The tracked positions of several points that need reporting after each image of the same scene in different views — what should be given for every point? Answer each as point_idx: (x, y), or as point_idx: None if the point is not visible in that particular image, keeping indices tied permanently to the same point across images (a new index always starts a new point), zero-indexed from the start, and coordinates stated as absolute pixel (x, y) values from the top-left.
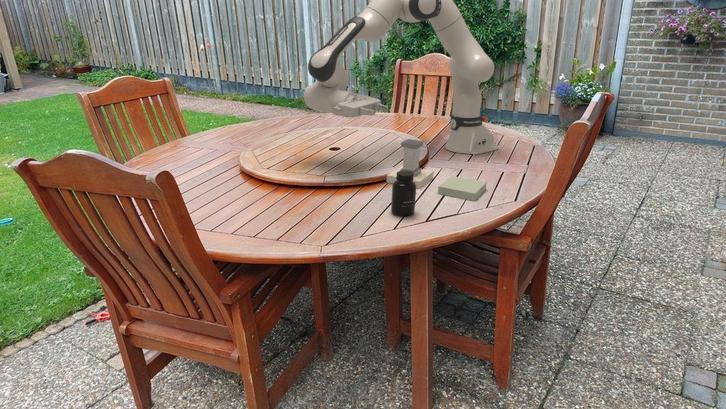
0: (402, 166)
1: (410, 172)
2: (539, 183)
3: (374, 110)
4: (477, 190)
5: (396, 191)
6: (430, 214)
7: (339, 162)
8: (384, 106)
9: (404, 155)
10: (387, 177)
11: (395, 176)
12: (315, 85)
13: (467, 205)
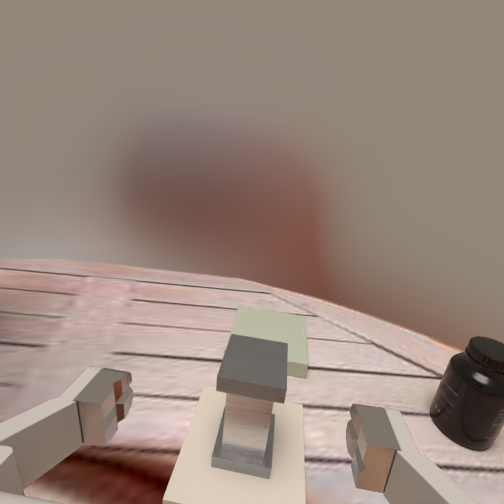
0: (173, 495)
1: (477, 341)
2: (184, 273)
3: (367, 405)
4: (288, 314)
5: None
6: (413, 376)
7: None
8: (115, 380)
9: (270, 416)
10: None
11: (301, 488)
12: None
13: (327, 334)
